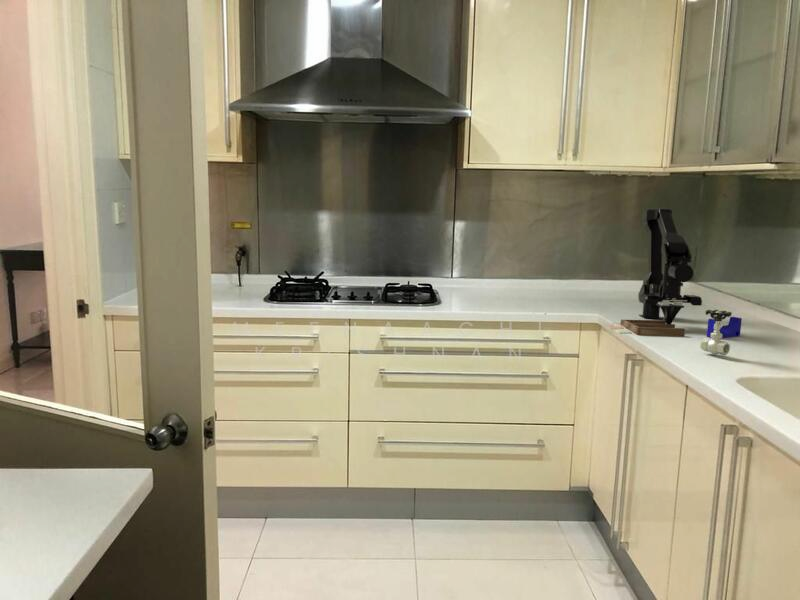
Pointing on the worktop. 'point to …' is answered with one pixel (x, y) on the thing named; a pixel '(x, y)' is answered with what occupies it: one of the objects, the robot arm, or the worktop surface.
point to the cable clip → (726, 328)
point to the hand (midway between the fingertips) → (668, 325)
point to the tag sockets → (649, 328)
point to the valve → (716, 335)
